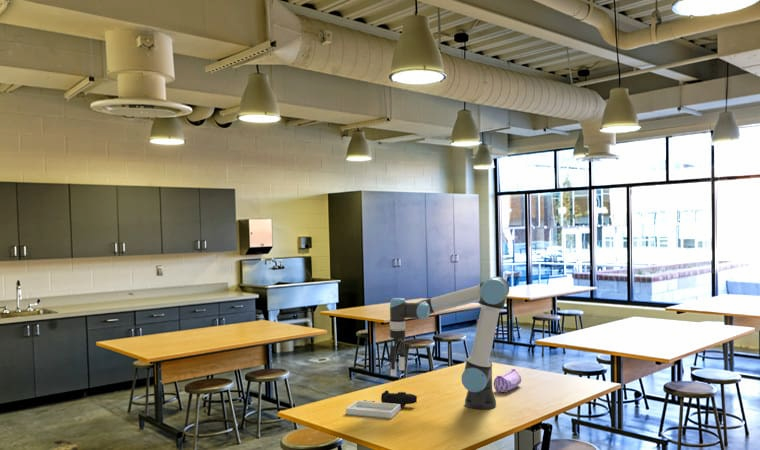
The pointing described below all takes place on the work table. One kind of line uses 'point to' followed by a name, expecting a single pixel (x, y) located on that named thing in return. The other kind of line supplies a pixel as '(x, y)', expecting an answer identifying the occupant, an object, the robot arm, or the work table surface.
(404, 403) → the night vision scope
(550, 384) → the work table surface
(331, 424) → the work table surface
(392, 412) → the tray
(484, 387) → the robot arm
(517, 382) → the pencil case
